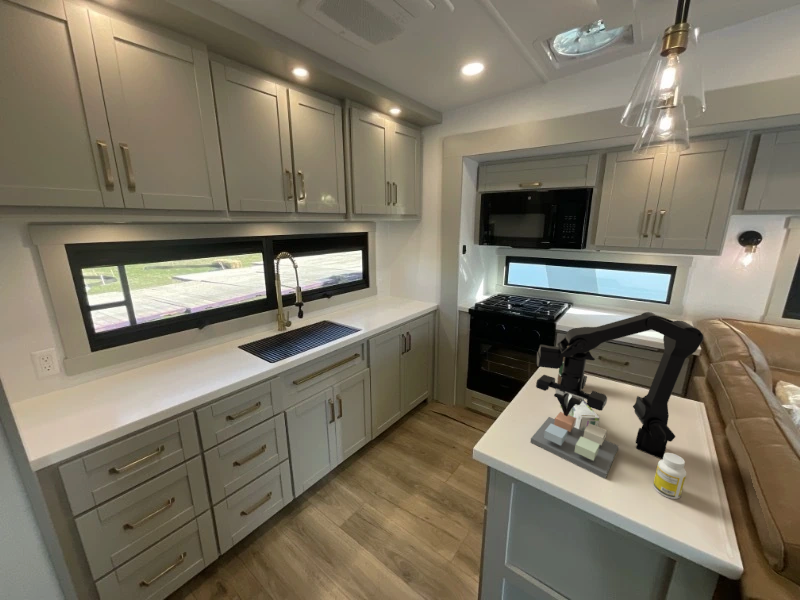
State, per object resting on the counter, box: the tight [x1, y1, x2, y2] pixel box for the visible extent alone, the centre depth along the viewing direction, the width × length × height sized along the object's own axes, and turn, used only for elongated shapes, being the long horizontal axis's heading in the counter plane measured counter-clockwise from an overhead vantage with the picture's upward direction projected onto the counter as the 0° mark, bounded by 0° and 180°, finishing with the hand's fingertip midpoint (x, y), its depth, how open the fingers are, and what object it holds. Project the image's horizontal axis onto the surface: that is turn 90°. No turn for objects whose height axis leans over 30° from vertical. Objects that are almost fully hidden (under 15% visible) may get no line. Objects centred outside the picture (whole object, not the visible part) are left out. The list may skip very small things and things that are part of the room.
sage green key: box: [574, 436, 600, 461], centre depth 89 cm, size 5×5×2 cm
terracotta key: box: [554, 411, 576, 432], centre depth 101 cm, size 5×5×2 cm
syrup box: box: [560, 394, 600, 431], centre depth 108 cm, size 6×6×14 cm
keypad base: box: [529, 416, 619, 479], centre depth 96 cm, size 20×15×2 cm
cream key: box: [583, 423, 608, 445], centre depth 95 cm, size 5×5×2 cm
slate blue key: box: [544, 424, 567, 446], centre depth 95 cm, size 5×5×2 cm
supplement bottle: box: [652, 452, 687, 500], centre depth 79 cm, size 5×5×10 cm
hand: (566, 415), depth 100 cm, fingers closed
